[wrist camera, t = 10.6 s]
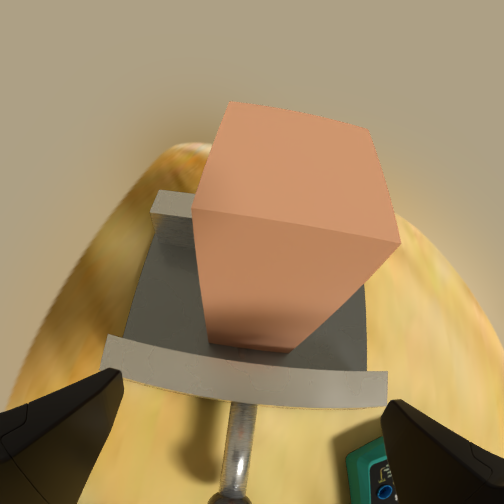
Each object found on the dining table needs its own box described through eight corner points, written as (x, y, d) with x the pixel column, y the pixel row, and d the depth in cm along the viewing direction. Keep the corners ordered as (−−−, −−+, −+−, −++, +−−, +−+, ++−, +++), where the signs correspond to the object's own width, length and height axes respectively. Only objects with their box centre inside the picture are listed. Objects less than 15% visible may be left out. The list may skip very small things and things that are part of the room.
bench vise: (346, 507, 12) (378, 525, 8) (104, 479, 11) (74, 494, 8) (356, 258, 22) (380, 226, 18) (161, 228, 22) (152, 188, 18)
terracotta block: (288, 353, 17) (401, 243, 6) (208, 342, 17) (191, 207, 6) (293, 282, 19) (368, 129, 9) (221, 271, 19) (229, 101, 9)
